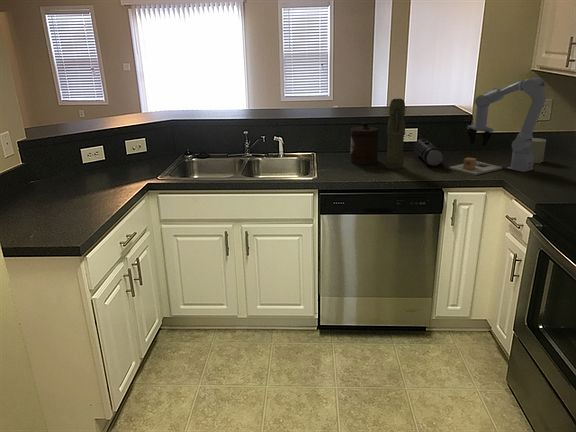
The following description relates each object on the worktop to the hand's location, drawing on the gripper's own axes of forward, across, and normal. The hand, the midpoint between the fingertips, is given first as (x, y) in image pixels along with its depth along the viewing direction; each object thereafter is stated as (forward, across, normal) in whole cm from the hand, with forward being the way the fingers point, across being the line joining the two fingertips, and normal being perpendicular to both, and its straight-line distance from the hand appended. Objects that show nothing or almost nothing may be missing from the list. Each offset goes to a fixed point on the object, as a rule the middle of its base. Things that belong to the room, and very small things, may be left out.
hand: (478, 144), depth 252 cm
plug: (+10, -9, +17) cm, 21 cm away
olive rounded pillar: (+10, +18, +42) cm, 47 cm away
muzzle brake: (+10, +16, +20) cm, 27 cm away
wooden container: (+10, +38, +46) cm, 60 cm away
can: (+10, -17, -24) cm, 31 cm away
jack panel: (+9, -9, +12) cm, 18 cm away
